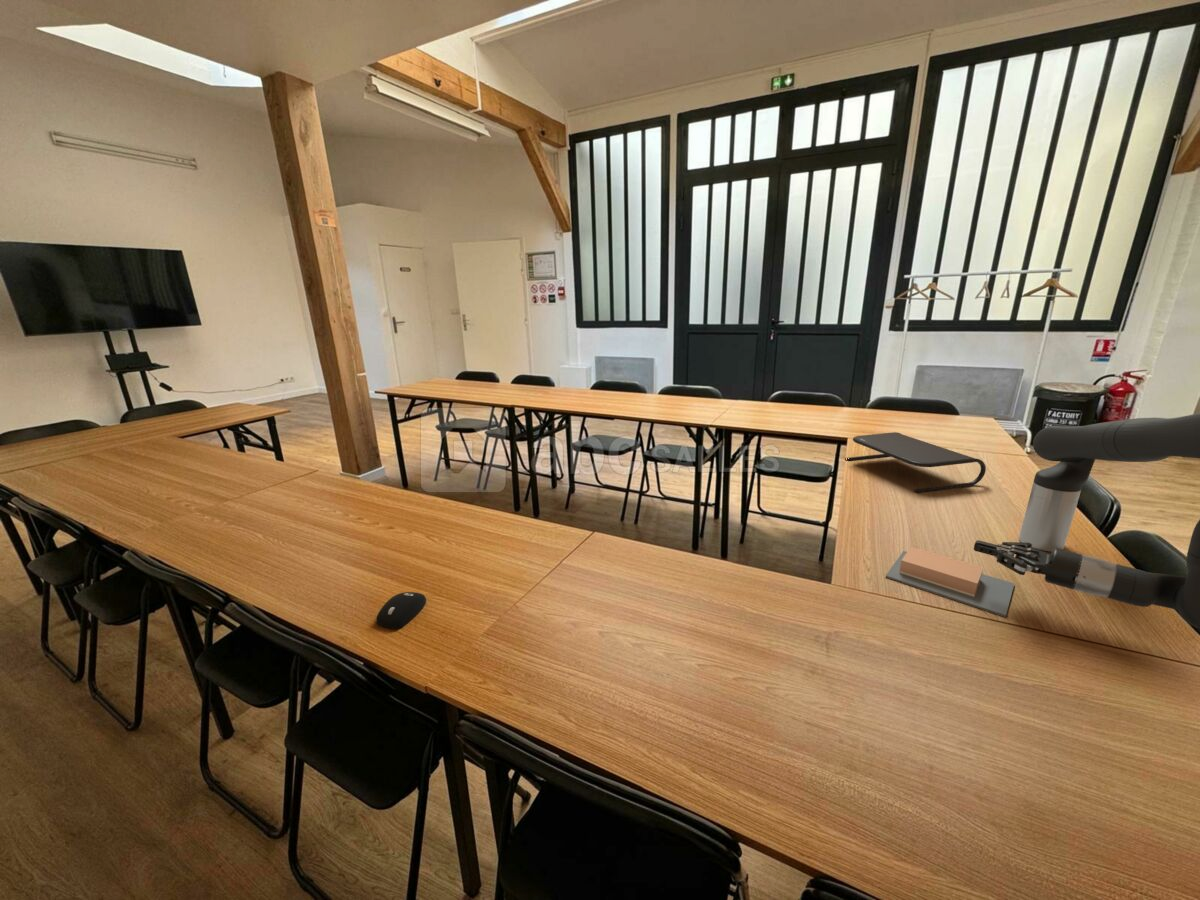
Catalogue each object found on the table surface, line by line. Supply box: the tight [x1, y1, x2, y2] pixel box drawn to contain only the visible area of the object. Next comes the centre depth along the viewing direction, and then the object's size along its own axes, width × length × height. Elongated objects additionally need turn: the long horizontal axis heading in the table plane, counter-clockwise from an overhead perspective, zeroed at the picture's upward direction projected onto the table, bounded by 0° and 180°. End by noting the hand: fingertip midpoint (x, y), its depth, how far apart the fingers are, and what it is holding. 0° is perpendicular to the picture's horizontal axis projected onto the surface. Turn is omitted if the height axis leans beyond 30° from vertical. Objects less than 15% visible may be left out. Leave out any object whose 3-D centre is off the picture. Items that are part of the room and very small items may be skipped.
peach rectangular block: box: [899, 546, 984, 597], centre depth 115 cm, size 9×4×15 cm
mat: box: [885, 550, 1015, 618], centre depth 115 cm, size 16×23×1 cm
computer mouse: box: [375, 591, 427, 630], centre depth 110 cm, size 8×12×4 cm, turn 161°
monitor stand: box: [844, 431, 987, 494], centre depth 183 cm, size 37×28×11 cm
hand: (974, 545), depth 109 cm, fingers closed
